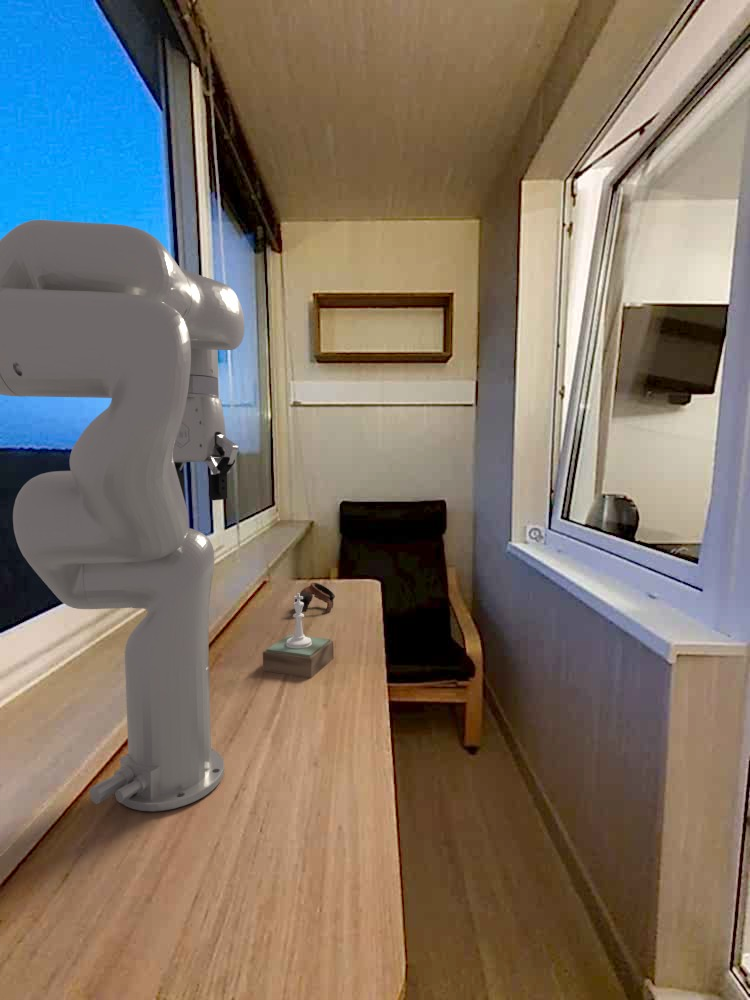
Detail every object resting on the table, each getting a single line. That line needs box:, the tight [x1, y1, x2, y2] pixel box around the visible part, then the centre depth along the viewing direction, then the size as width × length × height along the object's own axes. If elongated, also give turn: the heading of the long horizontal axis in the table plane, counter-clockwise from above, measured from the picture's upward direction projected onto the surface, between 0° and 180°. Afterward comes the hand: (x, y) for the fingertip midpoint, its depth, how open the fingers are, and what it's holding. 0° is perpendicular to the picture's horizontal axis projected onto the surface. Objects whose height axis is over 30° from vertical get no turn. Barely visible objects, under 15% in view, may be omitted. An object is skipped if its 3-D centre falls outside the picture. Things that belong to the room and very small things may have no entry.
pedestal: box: [262, 633, 335, 678], centre depth 105 cm, size 10×10×4 cm
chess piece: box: [286, 592, 312, 649], centre depth 104 cm, size 5×5×10 cm
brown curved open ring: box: [294, 582, 336, 614], centre depth 140 cm, size 12×10×8 cm
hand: (196, 498), depth 87 cm, fingers open, 9 cm apart
